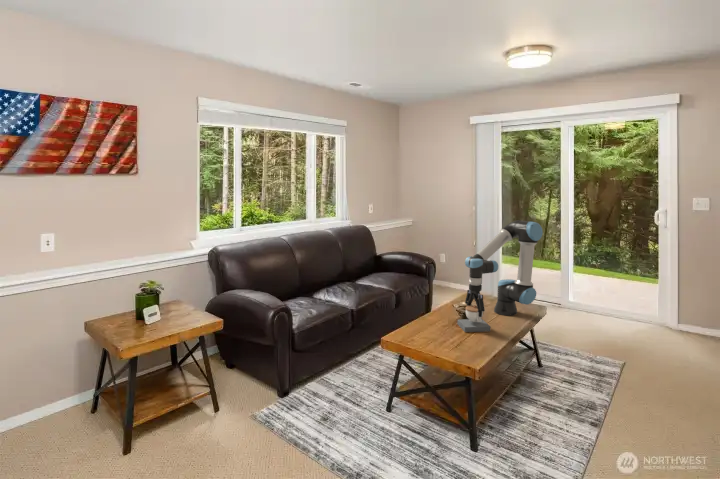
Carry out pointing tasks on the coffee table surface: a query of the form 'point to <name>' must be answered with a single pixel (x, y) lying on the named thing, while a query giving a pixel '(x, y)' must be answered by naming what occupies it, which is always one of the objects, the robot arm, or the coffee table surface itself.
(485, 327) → the block
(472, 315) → the lidded jar
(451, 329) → the coffee table surface
